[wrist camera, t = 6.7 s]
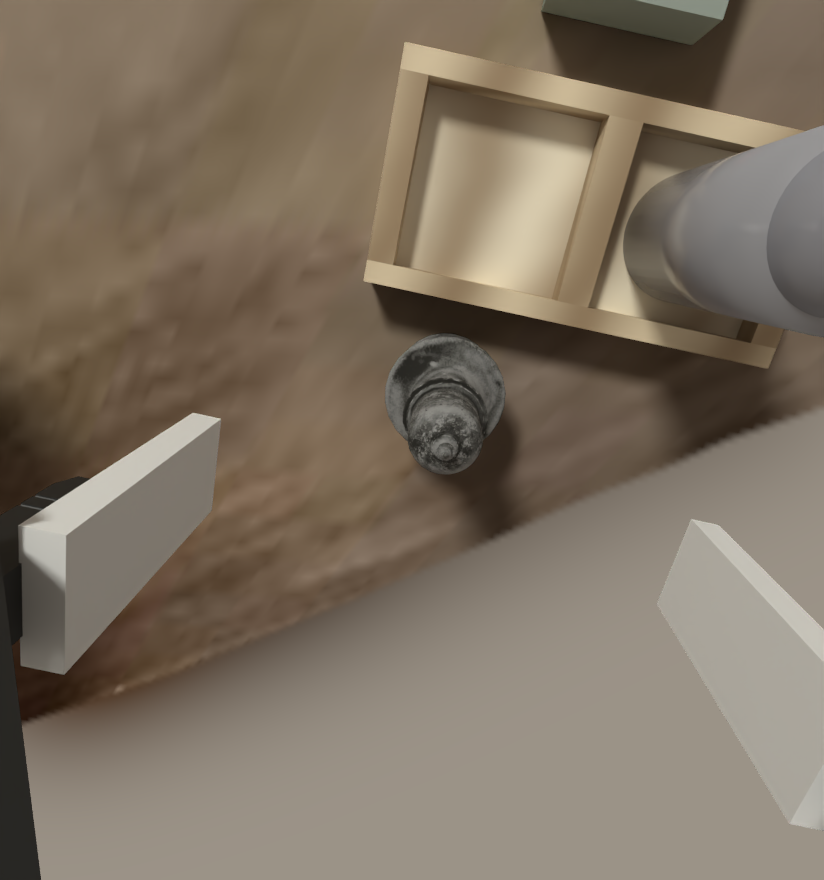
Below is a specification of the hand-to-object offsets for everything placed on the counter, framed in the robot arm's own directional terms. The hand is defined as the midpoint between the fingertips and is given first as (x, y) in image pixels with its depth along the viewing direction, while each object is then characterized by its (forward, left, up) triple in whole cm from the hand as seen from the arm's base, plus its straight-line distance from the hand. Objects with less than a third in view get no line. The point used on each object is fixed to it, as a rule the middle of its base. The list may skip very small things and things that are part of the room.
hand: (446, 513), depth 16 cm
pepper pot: (+10, +10, -16) cm, 21 cm away
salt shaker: (0, 0, -17) cm, 17 cm away
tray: (+5, +10, -17) cm, 20 cm away
